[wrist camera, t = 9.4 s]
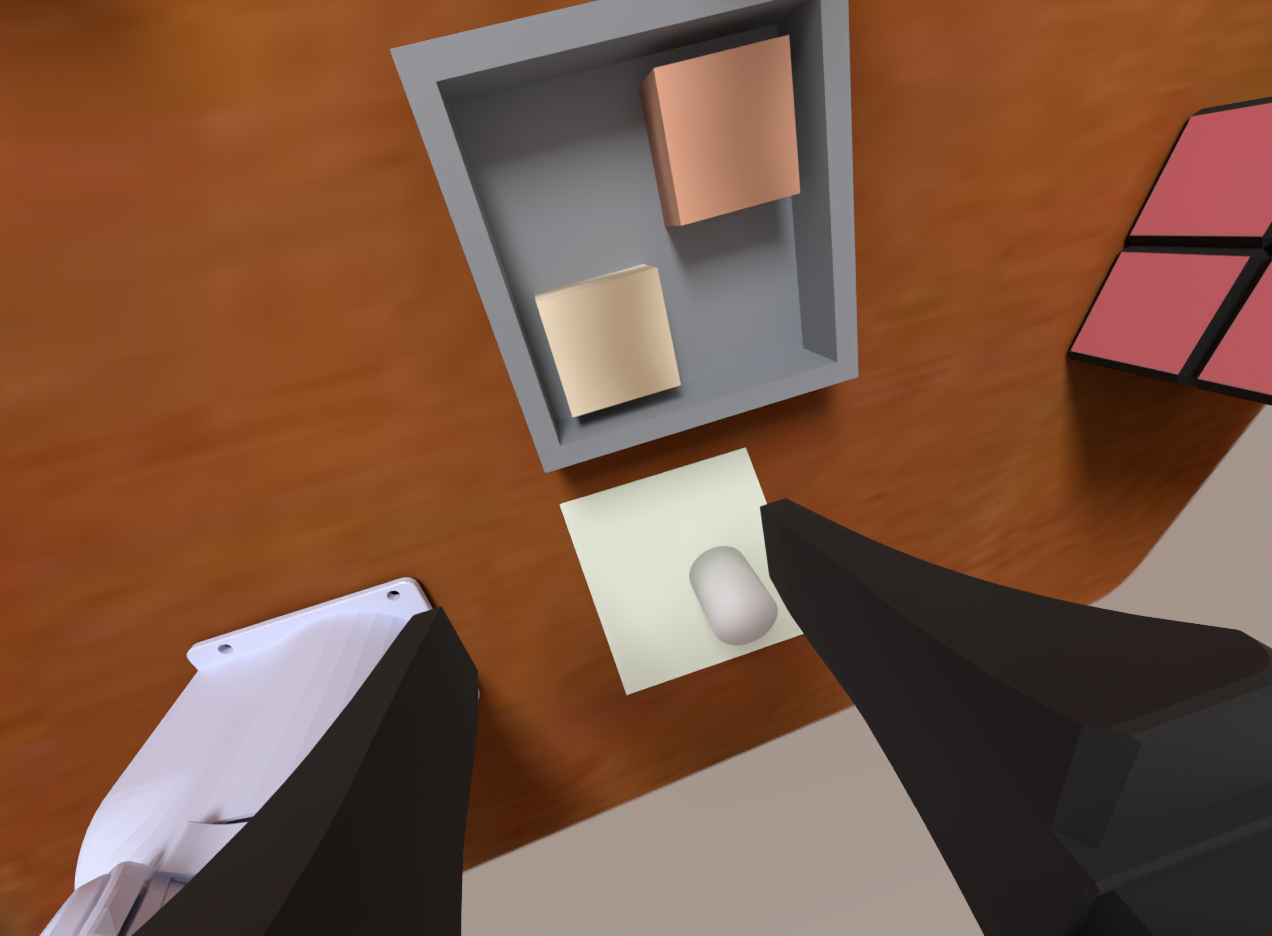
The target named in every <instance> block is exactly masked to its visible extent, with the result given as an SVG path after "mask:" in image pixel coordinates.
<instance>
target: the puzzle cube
mask: <svg viewBox="0 0 1272 936" xmlns="http://www.w3.org/2000/svg"><path fill="white" fill-rule="evenodd" d="M1128 240H1129V242H1130V244H1131V245H1130V246H1129V247H1127V248H1126V249H1124V250H1123V251H1121V252H1120V253H1119V255H1118V256H1117V258H1116V260H1115V262H1114V264H1113V266H1112V268H1111V270H1110V272H1109V274H1108V276H1107V278H1106V280H1105V282H1104V284H1103V286H1102V288H1101V289H1100V291H1099V293H1098V295H1097V297H1096V299H1095V301H1094V303H1093V305H1092V307H1091V309H1090V311H1089V313H1088V315H1087V317H1086V319H1085V321H1084V322H1083V324H1082V326H1081V328H1080V330H1079V332H1078V334H1077V336H1076V338H1075V340H1074V342H1073V344H1072V346H1071V348H1070V350H1069V353H1070V356H1071V358H1072V359H1074V360H1079V361H1083V362H1087V363H1091V364H1096V365H1100V366H1104V367H1109V368H1113V369H1117V370H1121V371H1126V372H1130V373H1134V374H1138V375H1143V376H1147V377H1151V378H1156V379H1160V380H1164V381H1168V382H1173V383H1177V384H1182V385H1188V386H1194V387H1197V388H1199V389H1203V390H1208V391H1212V392H1216V393H1220V394H1225V395H1229V396H1233V397H1238V398H1242V399H1246V400H1250V401H1255V402H1259V403H1263V404H1267V405H1272V97H1267V98H1261V99H1256V100H1250V101H1244V102H1239V103H1233V104H1228V105H1222V106H1216V107H1211V108H1205V109H1201V110H1200V111H1198V112H1197V113H1196V114H1194V115H1193V116H1191V117H1190V118H1189V119H1188V121H1187V122H1186V124H1185V126H1184V128H1183V130H1182V132H1181V134H1180V136H1179V138H1178V140H1177V142H1176V144H1175V146H1174V148H1173V150H1172V152H1171V154H1170V155H1169V157H1168V159H1167V161H1166V163H1165V165H1164V167H1163V169H1162V171H1161V173H1160V175H1159V177H1158V179H1157V181H1156V183H1155V185H1154V187H1153V189H1152V190H1151V192H1150V194H1149V196H1148V198H1147V200H1146V202H1145V204H1144V206H1143V208H1142V210H1141V212H1140V214H1139V216H1138V218H1137V220H1136V222H1135V223H1134V225H1133V227H1132V229H1131V231H1130V233H1129V235H1128Z"/></svg>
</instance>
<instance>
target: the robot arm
mask: <svg viewBox="0 0 1272 936" xmlns="http://www.w3.org/2000/svg"><path fill="white" fill-rule="evenodd" d="M760 513H761V520H762V528H763V535H764V542H765V549H766V557H767V564H768V571H769V577H770V579H771V581H772V583H773V584H774V586H775V588H776V590H777V592H778V594H779V596H780V597H781V599H782V601H783V603H784V605H785V606H786V608H787V610H788V612H789V613H790V615H791V616H792V618H793V619H794V621H795V622H796V624H797V625H798V626H799V628H800V629H801V631H802V632H803V633H804V635H805V636H806V638H807V639H808V640H809V642H810V643H811V645H812V646H813V647H814V649H815V650H816V651H817V653H818V654H819V656H820V657H821V658H822V660H823V661H824V662H825V664H826V665H827V667H828V668H829V669H830V671H831V672H832V673H833V675H834V676H835V678H836V679H837V680H838V682H839V683H840V685H841V686H842V687H843V689H844V690H845V691H846V693H847V694H848V696H849V697H850V698H851V700H852V701H853V703H854V704H855V706H856V707H857V709H858V710H859V712H860V713H861V715H862V716H863V718H864V719H865V721H866V723H867V724H868V726H869V728H870V729H871V731H872V733H873V735H874V736H875V738H876V740H877V741H878V743H879V745H880V746H881V748H882V750H883V752H884V753H885V755H886V757H887V758H888V760H889V762H890V763H891V765H892V766H893V769H894V770H895V772H896V774H897V776H898V777H899V779H900V781H901V783H902V784H903V786H904V788H905V790H906V791H907V793H908V795H909V797H910V798H911V800H912V802H913V804H914V805H915V807H916V809H917V811H918V813H919V814H920V816H921V818H922V820H923V822H924V823H925V825H926V827H927V829H928V830H929V832H930V834H931V836H932V838H933V840H934V842H935V843H936V845H937V847H938V849H939V851H940V852H941V854H942V856H943V858H944V860H945V862H946V863H947V865H948V867H949V869H950V871H951V873H952V875H953V877H954V878H955V880H956V882H957V884H958V886H959V888H960V890H961V892H962V894H963V896H964V898H965V899H966V901H967V903H968V905H969V907H970V909H971V911H972V913H973V914H974V917H975V919H976V920H977V922H978V924H979V926H980V928H981V930H982V932H983V934H984V936H1272V649H1271V648H1270V647H1268V646H1266V645H1265V644H1263V643H1261V642H1259V641H1258V640H1256V639H1254V638H1252V637H1251V636H1249V635H1247V634H1245V633H1244V632H1242V631H1239V630H1235V629H1228V628H1221V627H1214V626H1207V625H1201V624H1194V623H1186V622H1180V621H1173V620H1166V619H1159V618H1152V617H1145V616H1140V615H1134V614H1128V613H1123V612H1118V611H1113V610H1107V609H1102V608H1097V607H1092V606H1087V605H1081V604H1077V603H1072V602H1068V601H1063V600H1059V599H1054V598H1049V597H1045V596H1041V595H1037V594H1033V593H1029V592H1025V591H1022V590H1018V589H1014V588H1010V587H1006V586H1002V585H998V584H995V583H991V582H988V581H984V580H981V579H977V578H974V577H971V576H968V575H965V574H962V573H959V572H956V571H953V570H950V569H946V568H943V567H940V566H937V565H934V564H932V563H929V562H926V561H923V560H921V559H918V558H915V557H913V556H910V555H908V554H905V553H903V552H900V551H898V550H895V549H893V548H890V547H888V546H885V545H883V544H881V543H878V542H876V541H874V540H872V539H869V538H867V537H865V536H863V535H860V534H858V533H856V532H854V531H852V530H850V529H847V528H845V527H843V526H841V525H839V524H837V523H835V522H833V521H831V520H829V519H827V518H825V517H823V516H821V515H819V514H817V513H815V512H813V511H811V510H809V509H807V508H805V507H803V506H801V505H798V504H796V503H794V502H792V501H790V500H788V499H786V498H785V499H782V500H779V501H775V502H772V503H769V504H766V505H763V506H760ZM390 591H397V592H399V593H400V594H397V595H394V594H391V593H390ZM224 644H226V645H230V646H231V647H227V646H226V645H224ZM187 658H188V659H189V661H190V662H191V663H192V664H193V665H194V666H195V667H196V668H197V669H198V670H199V671H198V672H197V673H196V674H195V676H194V677H193V679H192V680H191V681H190V683H189V684H188V685H187V687H186V688H185V689H184V691H183V692H182V694H181V695H180V696H179V698H178V699H177V700H176V702H175V703H174V704H173V706H172V707H171V709H170V710H169V711H168V713H167V714H166V715H165V717H164V718H163V719H162V721H161V722H160V724H159V725H158V726H157V728H156V729H155V730H154V732H153V733H152V734H151V736H150V737H149V739H148V740H147V741H146V743H145V744H144V745H143V747H142V748H141V749H140V751H139V752H138V754H137V755H136V756H135V758H134V759H133V760H132V762H131V763H130V764H129V766H128V767H127V768H126V770H125V771H124V773H123V774H122V775H121V777H120V778H119V779H118V781H117V782H116V783H115V785H114V786H113V788H112V789H111V790H110V792H109V793H108V794H107V796H106V797H105V799H104V800H103V802H102V803H101V805H100V807H99V808H98V810H97V811H96V813H95V815H94V817H93V819H92V821H91V823H90V825H89V827H88V830H87V832H86V835H85V838H84V841H83V844H82V847H81V850H80V854H79V858H78V864H77V869H76V876H75V891H74V893H73V894H72V895H71V896H70V897H69V898H68V900H67V901H66V902H65V903H64V904H63V906H62V907H61V908H60V910H59V911H58V912H57V913H56V915H55V916H54V917H53V919H52V920H51V921H50V923H49V924H48V925H47V927H46V928H45V929H44V931H43V932H42V933H41V935H40V936H461V905H462V868H463V849H464V837H465V827H466V818H467V810H468V802H469V794H470V785H471V777H472V769H473V761H474V752H475V743H476V734H477V725H478V700H479V695H480V691H479V688H478V670H477V668H476V667H475V665H474V663H473V661H472V660H471V658H470V656H469V654H468V652H467V651H466V649H465V647H464V645H463V644H462V642H461V640H460V638H459V637H458V635H457V633H456V631H455V630H454V628H453V626H452V624H451V622H450V621H449V619H448V617H447V615H446V614H445V612H444V610H443V608H442V607H437V608H434V609H433V608H432V606H431V604H430V603H429V601H428V599H427V597H426V596H425V594H424V592H423V590H422V589H421V587H420V585H419V583H418V582H417V581H416V580H414V579H412V578H408V577H405V578H400V579H397V580H394V581H391V582H387V583H384V584H381V585H378V586H375V587H372V588H369V589H365V590H362V591H359V592H356V593H353V594H350V595H346V596H343V597H340V598H337V599H334V600H331V601H328V602H324V603H321V604H318V605H315V606H312V607H309V608H305V609H302V610H299V611H296V612H293V613H290V614H287V615H283V616H280V617H277V618H274V619H271V620H268V621H264V622H261V623H258V624H255V625H252V626H249V627H246V628H242V629H239V630H236V631H233V632H230V633H227V634H223V635H220V636H217V637H214V638H211V639H208V640H205V641H201V642H198V643H196V644H194V645H193V646H192V648H191V649H190V650H189V652H188V653H187Z"/></svg>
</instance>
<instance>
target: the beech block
mask: <svg viewBox="0 0 1272 936" xmlns="http://www.w3.org/2000/svg"><path fill="white" fill-rule="evenodd" d="M535 300H536V304H537V307H538V310H539V313H540V316H541V320H542V323H543V326H544V329H545V332H546V335H547V338H548V342H549V345H550V348H551V351H552V354H553V357H554V360H555V364H556V367H557V370H558V373H559V376H560V379H561V382H562V386H563V389H564V392H565V395H566V398H567V401H568V404H569V407H570V411H571V414H572V417H576V416H580V415H583V414H586V413H590V412H593V411H596V410H600V409H603V408H606V407H610V406H613V405H616V404H620V403H623V402H626V401H630V400H633V399H636V398H640V397H643V396H646V395H650V394H653V393H656V392H660V391H663V390H666V389H670V388H673V387H676V386H680V385H681V383H680V378H679V373H678V368H677V363H676V358H675V353H674V348H673V343H672V338H671V333H670V328H669V323H668V318H667V313H666V308H665V303H664V298H663V293H662V288H661V283H660V278H659V274H658V269H657V268H656V267H652V266H649V265H645V264H642V265H639V266H635V267H632V268H628V269H624V270H621V271H617V272H614V273H610V274H606V275H603V276H599V277H596V278H592V279H589V280H585V281H581V282H578V283H574V284H571V285H567V286H563V287H560V288H556V289H553V290H549V291H545V292H542V293H538V294H535Z"/></svg>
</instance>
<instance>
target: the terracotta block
mask: <svg viewBox="0 0 1272 936" xmlns="http://www.w3.org/2000/svg"><path fill="white" fill-rule="evenodd" d="M639 92H640V97H641V102H642V108H643V113H644V118H645V124H646V129H647V134H648V140H649V145H650V150H651V156H652V161H653V166H654V172H655V177H656V182H657V187H658V193H659V198H660V203H661V209H662V214H663V219H664V225H665V226H682V225H686V224H690V223H693V222H697V221H700V220H704V219H708V218H711V217H715V216H719V215H722V214H726V213H730V212H733V211H737V210H741V209H744V208H748V207H752V206H755V205H759V204H763V203H766V202H770V201H774V200H777V199H781V198H784V197H788V196H792V195H795V194H799V193H800V182H799V167H798V153H797V139H796V125H795V111H794V97H793V83H792V68H791V54H790V40H789V35H786V36H782V37H778V38H774V39H770V40H766V41H762V42H758V43H754V44H749V45H745V46H741V47H737V48H733V49H729V50H725V51H721V52H717V53H713V54H709V55H705V56H701V57H697V58H693V59H689V60H685V61H681V62H677V63H673V64H668V65H664V66H660V67H656V68H653V70H652V71H651V72H650V73H649V74H648V76H647V77H646V78H645V79H644V81H643V82H642V83H641V84H640V86H639Z"/></svg>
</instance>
